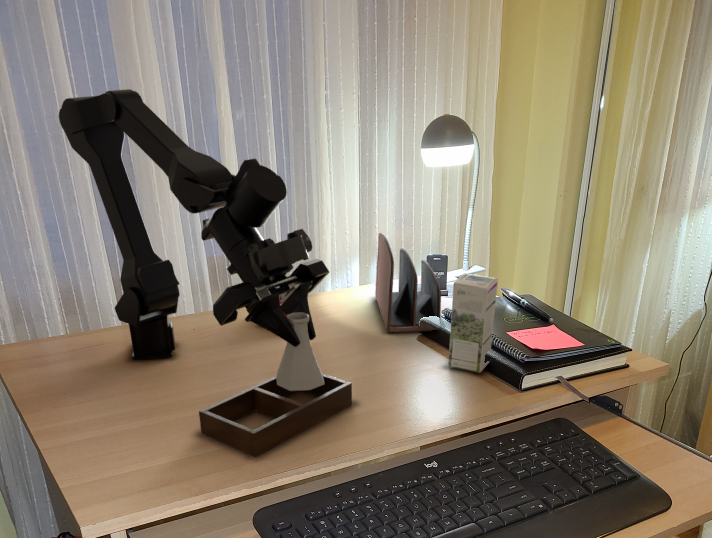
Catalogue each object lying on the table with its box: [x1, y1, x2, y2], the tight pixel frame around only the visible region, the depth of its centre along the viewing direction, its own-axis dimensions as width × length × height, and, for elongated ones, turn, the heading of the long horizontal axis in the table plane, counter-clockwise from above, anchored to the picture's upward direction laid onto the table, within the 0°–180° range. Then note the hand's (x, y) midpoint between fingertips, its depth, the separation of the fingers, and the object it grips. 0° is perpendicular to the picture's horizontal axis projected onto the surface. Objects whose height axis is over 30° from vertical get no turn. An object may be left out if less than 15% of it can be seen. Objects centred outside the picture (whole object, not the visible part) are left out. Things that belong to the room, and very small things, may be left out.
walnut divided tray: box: [198, 372, 353, 458], centre depth 110 cm, size 11×20×4 cm, turn 143°
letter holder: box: [374, 232, 442, 334], centre depth 145 cm, size 10×20×14 cm, turn 6°
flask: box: [275, 312, 325, 392], centre depth 110 cm, size 7×7×10 cm
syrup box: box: [447, 273, 499, 374], centre depth 125 cm, size 6×6×14 cm
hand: (305, 341), depth 108 cm, fingers closed on flask, 3 cm apart
